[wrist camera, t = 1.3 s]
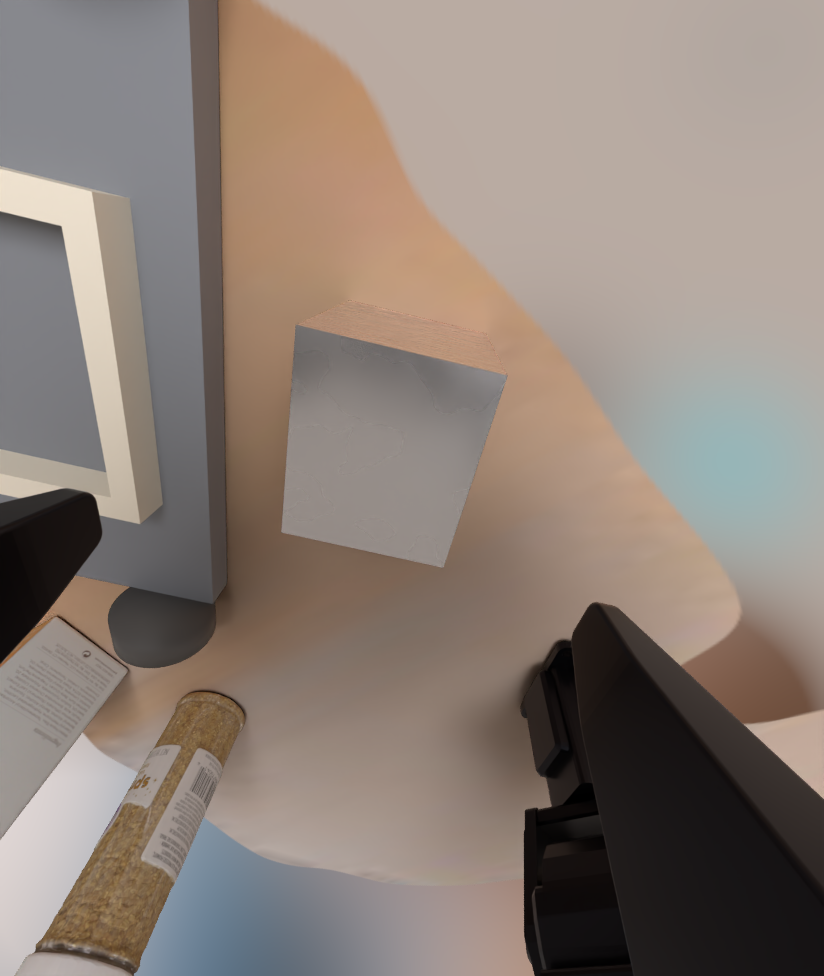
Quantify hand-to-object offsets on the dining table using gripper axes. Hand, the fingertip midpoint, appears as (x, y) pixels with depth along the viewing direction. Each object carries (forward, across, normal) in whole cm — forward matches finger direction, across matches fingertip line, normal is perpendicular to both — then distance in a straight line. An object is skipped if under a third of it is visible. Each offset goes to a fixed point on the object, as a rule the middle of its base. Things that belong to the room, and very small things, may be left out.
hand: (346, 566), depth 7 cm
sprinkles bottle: (+10, +8, +24) cm, 27 cm away
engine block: (+10, 0, 0) cm, 10 cm away
